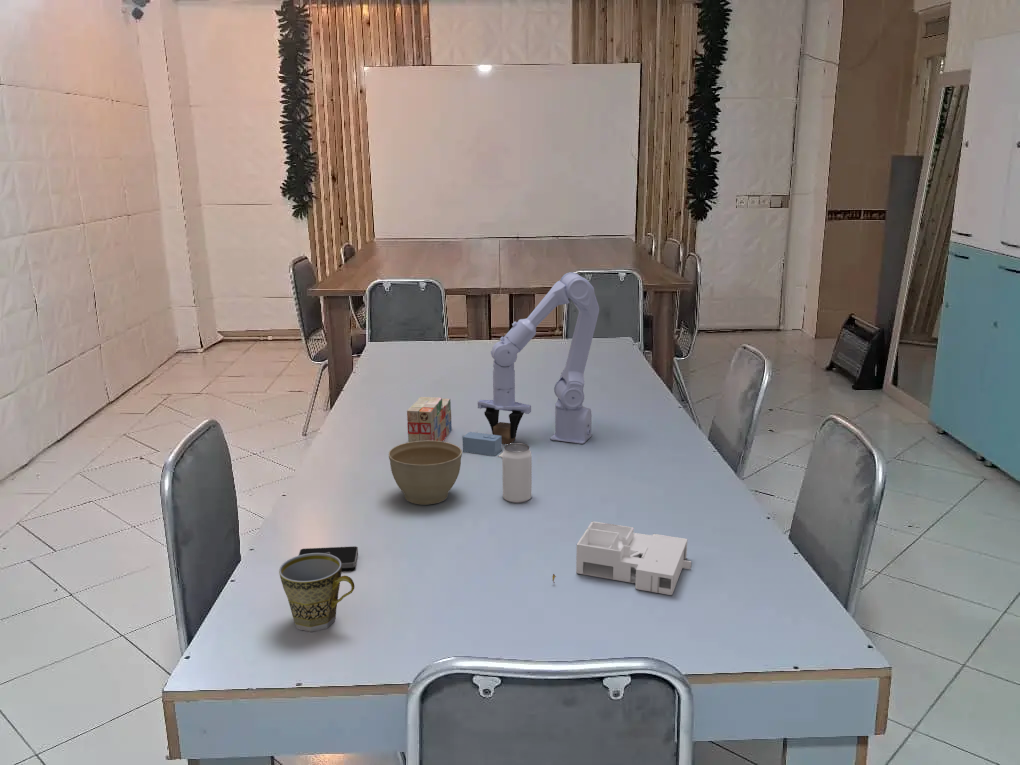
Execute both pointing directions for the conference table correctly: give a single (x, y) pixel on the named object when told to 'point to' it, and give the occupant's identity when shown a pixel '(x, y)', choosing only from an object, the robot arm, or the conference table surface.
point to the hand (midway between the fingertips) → (504, 436)
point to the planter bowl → (425, 470)
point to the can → (517, 473)
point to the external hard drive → (338, 555)
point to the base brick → (482, 443)
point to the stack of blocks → (429, 419)
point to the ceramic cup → (313, 589)
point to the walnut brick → (503, 432)
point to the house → (632, 557)
